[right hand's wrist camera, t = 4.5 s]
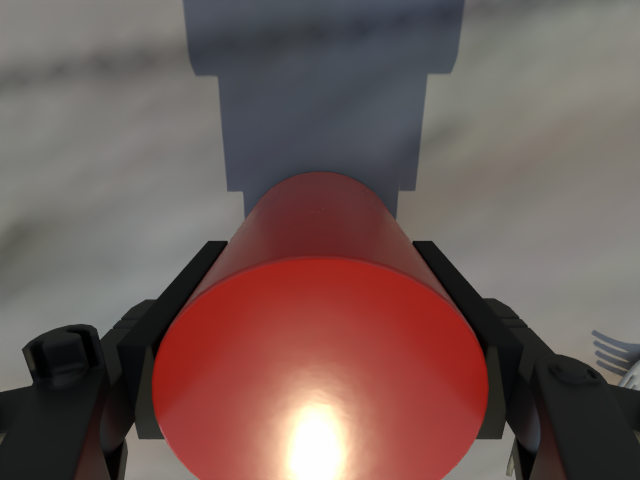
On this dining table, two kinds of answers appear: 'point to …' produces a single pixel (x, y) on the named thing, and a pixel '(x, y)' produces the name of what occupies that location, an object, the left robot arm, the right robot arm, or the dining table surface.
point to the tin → (320, 349)
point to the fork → (636, 370)
